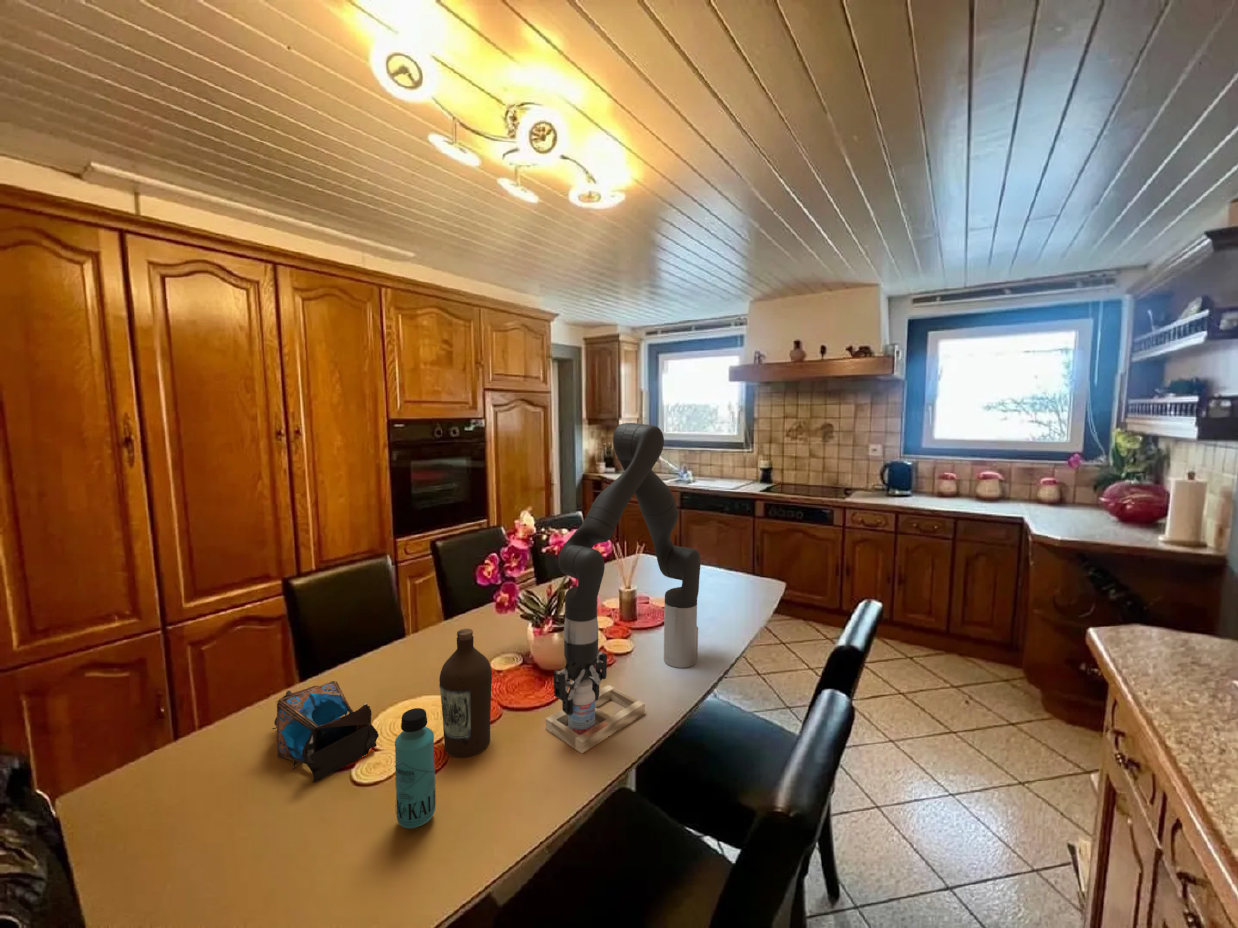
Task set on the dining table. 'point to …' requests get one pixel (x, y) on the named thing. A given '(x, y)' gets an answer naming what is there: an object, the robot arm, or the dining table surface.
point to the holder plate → (597, 720)
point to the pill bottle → (583, 708)
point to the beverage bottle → (415, 770)
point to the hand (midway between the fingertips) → (581, 706)
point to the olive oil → (466, 698)
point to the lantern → (322, 729)
